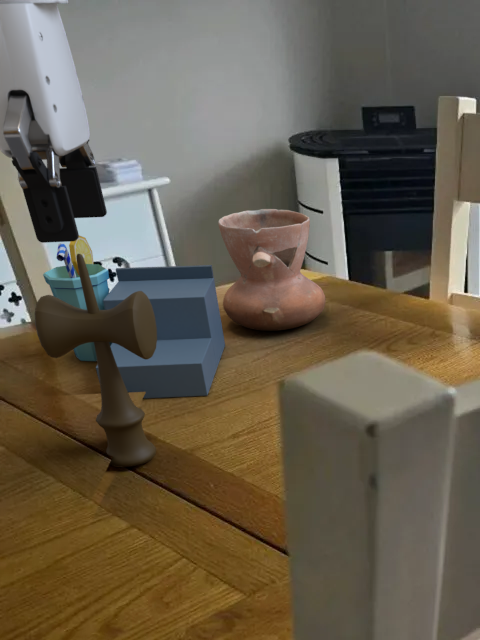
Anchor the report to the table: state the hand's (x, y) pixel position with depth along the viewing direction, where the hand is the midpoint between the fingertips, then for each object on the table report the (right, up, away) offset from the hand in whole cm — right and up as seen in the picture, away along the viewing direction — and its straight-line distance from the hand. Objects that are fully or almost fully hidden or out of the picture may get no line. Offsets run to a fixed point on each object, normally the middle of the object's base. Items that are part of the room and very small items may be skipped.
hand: (74, 228), depth 71 cm
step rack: (-3, -3, +34) cm, 34 cm away
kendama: (0, -18, +13) cm, 22 cm away
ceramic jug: (+7, +8, +50) cm, 51 cm away
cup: (-14, 0, +38) cm, 41 cm away
